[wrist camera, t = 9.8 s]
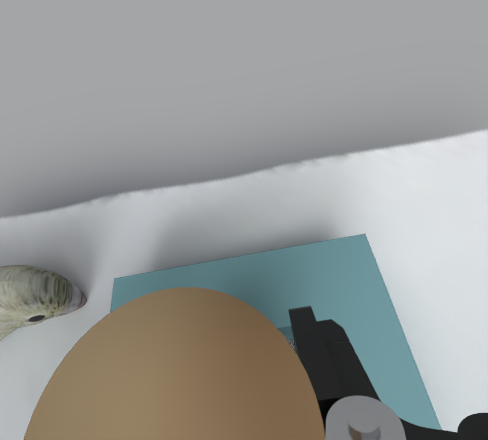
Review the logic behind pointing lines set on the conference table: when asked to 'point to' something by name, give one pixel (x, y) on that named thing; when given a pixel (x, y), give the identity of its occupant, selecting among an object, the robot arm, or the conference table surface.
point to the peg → (180, 376)
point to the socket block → (314, 306)
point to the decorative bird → (34, 296)
